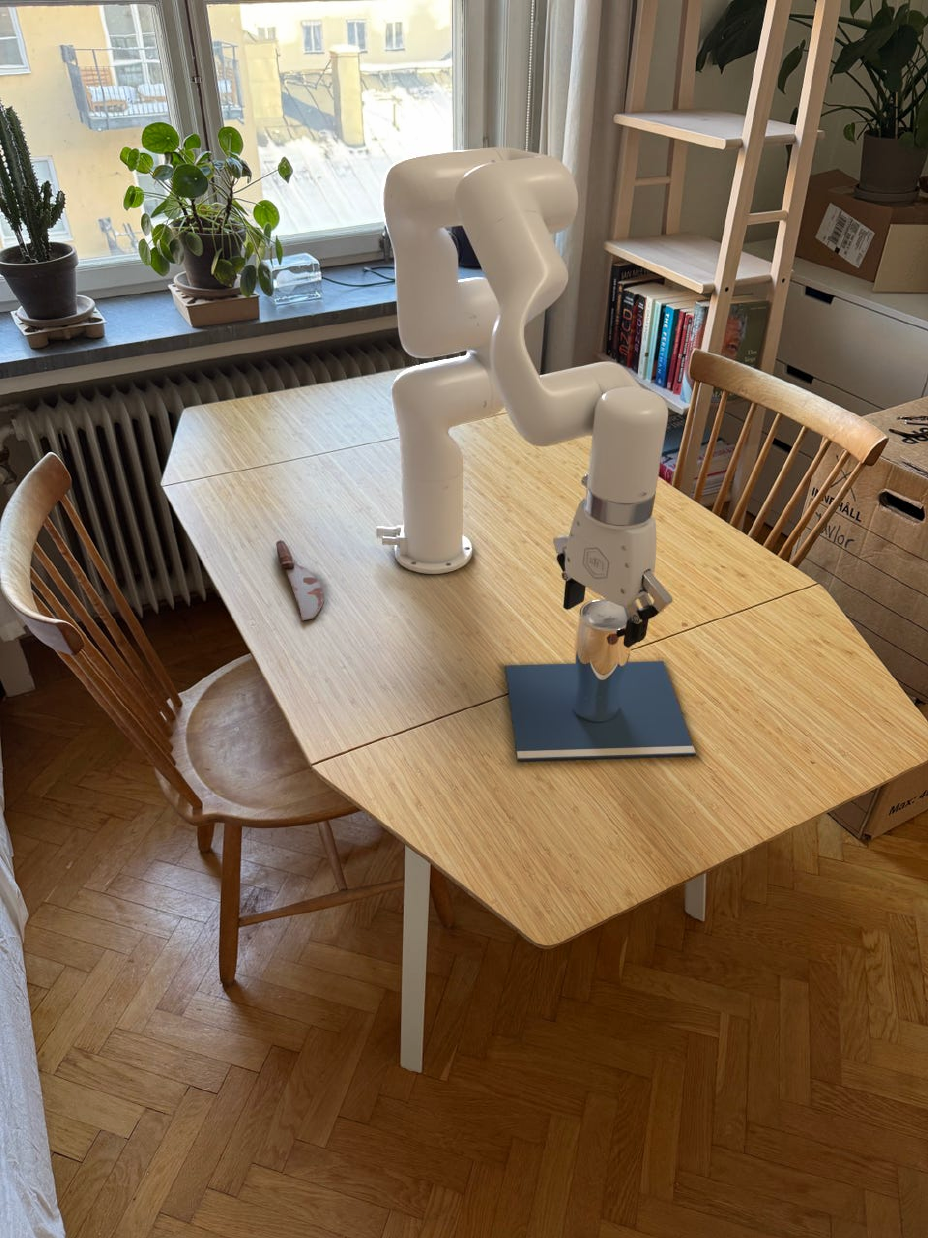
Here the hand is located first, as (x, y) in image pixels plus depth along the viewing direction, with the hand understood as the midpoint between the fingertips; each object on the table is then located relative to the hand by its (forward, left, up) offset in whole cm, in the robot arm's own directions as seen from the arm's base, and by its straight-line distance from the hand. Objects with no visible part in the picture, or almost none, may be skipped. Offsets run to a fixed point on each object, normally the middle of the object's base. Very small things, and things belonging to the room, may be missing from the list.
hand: (602, 623), depth 112 cm
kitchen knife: (-43, +26, -14) cm, 53 cm away
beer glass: (0, 0, -14) cm, 14 cm away
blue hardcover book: (0, 0, -14) cm, 14 cm away
